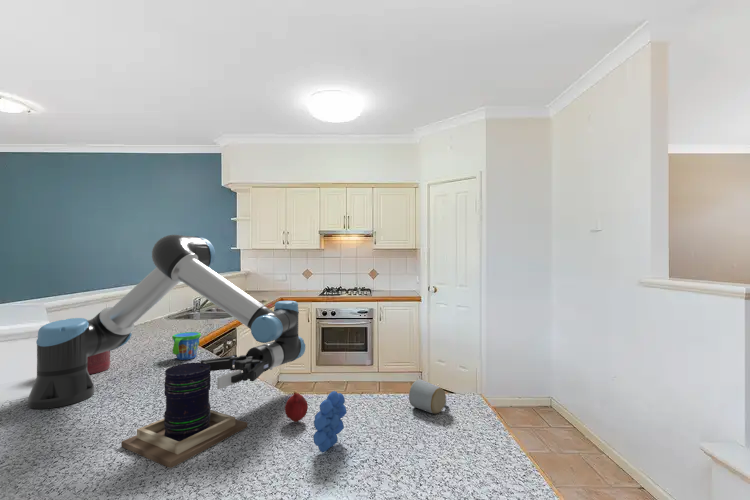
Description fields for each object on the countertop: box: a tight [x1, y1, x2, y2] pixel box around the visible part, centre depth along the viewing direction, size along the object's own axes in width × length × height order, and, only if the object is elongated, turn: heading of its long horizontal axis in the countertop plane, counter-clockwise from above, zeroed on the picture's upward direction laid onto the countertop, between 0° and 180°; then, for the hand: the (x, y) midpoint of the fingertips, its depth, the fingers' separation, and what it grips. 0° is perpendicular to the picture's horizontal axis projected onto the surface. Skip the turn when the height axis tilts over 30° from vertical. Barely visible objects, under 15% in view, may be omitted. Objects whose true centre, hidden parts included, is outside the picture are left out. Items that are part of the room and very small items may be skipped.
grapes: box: [312, 390, 348, 453], centre depth 82 cm, size 12×7×12 cm, turn 154°
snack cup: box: [171, 331, 202, 361], centre depth 154 cm, size 16×10×10 cm
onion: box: [284, 390, 309, 423], centre depth 94 cm, size 6×6×8 cm
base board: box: [120, 409, 249, 469], centre depth 86 cm, size 18×20×3 cm
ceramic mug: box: [408, 378, 448, 415], centre depth 102 cm, size 11×8×8 cm
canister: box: [87, 351, 112, 375], centre depth 137 cm, size 13×13×18 cm
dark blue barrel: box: [163, 362, 212, 441], centre depth 87 cm, size 10×10×15 cm
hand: (199, 379), depth 89 cm, fingers open, 13 cm apart
